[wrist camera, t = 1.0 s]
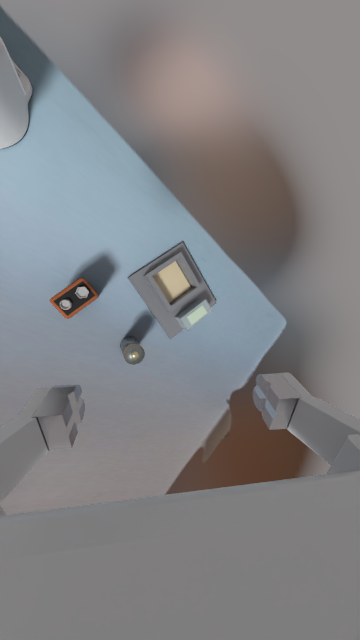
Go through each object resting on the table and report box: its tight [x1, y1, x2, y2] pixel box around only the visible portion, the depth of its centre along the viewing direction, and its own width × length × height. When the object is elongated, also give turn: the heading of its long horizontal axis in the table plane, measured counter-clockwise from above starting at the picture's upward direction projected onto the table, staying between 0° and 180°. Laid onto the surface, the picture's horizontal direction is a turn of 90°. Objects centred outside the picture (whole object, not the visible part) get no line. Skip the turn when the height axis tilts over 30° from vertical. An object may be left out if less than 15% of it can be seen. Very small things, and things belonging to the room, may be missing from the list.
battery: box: [50, 278, 99, 319], centre depth 39 cm, size 4×7×10 cm, turn 126°
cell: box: [120, 337, 145, 364], centre depth 44 cm, size 4×4×9 cm
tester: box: [128, 243, 216, 339], centre depth 48 cm, size 18×16×5 cm
